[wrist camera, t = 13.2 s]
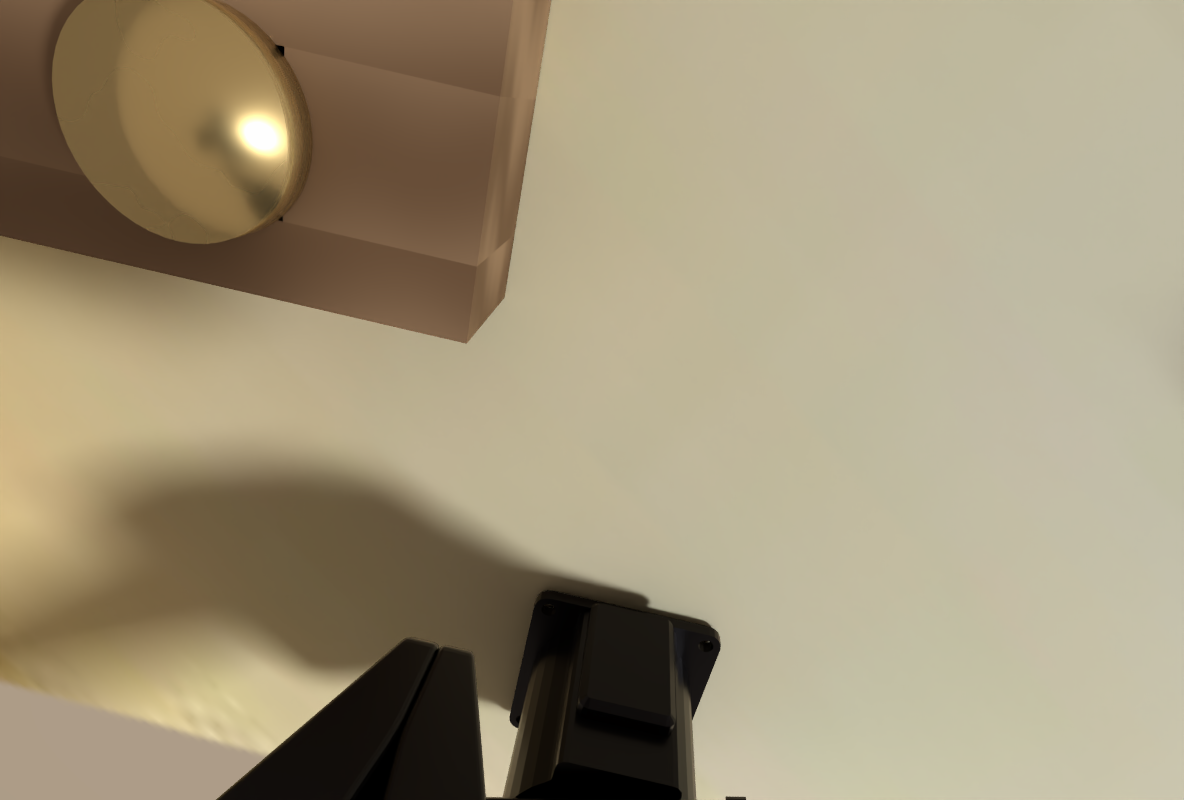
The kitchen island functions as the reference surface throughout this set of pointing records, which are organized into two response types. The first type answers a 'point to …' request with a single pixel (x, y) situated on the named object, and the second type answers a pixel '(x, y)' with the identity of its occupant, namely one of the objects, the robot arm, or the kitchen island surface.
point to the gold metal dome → (182, 116)
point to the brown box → (326, 159)
